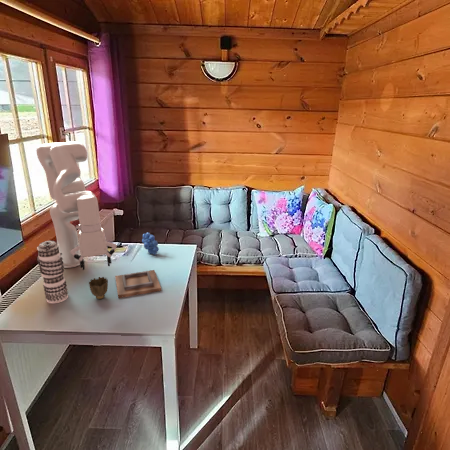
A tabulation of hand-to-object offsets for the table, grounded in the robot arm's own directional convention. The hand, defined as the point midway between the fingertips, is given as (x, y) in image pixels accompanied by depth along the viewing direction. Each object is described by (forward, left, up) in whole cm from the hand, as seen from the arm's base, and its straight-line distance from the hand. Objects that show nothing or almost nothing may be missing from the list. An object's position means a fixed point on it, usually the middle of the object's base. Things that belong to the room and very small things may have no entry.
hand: (96, 266), depth 142 cm
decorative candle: (-17, +6, -15) cm, 24 cm away
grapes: (+26, +37, -15) cm, 48 cm away
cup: (0, 0, -15) cm, 15 cm away
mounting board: (+16, +6, -15) cm, 22 cm away
